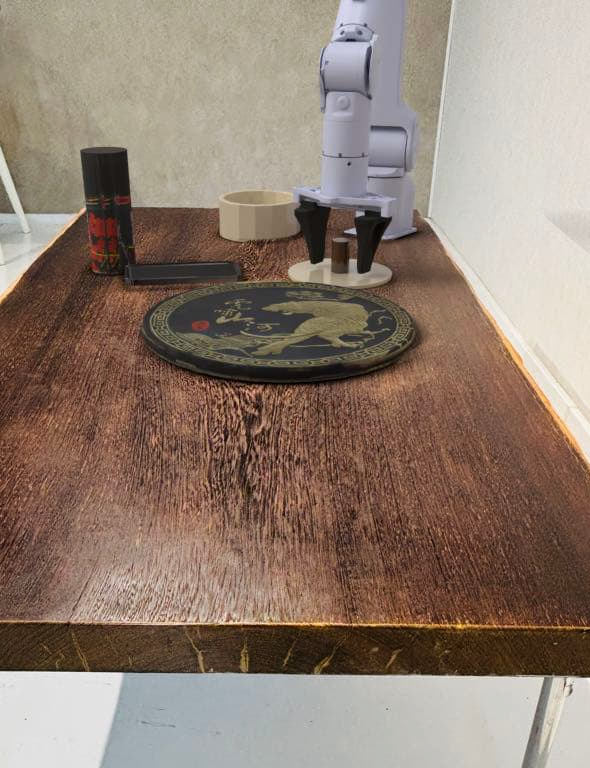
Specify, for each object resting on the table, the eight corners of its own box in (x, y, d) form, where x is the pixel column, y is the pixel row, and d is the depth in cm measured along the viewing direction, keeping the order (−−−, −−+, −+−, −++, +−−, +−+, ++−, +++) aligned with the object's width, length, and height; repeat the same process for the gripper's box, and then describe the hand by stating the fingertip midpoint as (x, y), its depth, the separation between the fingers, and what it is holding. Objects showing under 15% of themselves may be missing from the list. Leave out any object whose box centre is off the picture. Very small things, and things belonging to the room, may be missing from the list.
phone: (124, 264, 115) (236, 260, 116) (125, 273, 115) (236, 268, 117) (124, 280, 108) (242, 275, 110) (125, 289, 109) (242, 284, 110)
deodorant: (87, 266, 119) (74, 148, 111) (128, 261, 121) (119, 145, 113) (99, 276, 114) (87, 154, 106) (142, 271, 116) (133, 151, 108)
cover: (327, 261, 121) (328, 223, 118) (410, 277, 114) (414, 238, 111) (266, 281, 112) (267, 241, 109) (353, 301, 105) (355, 258, 102)
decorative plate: (100, 354, 84) (183, 271, 109) (101, 372, 85) (183, 286, 110) (409, 379, 79) (422, 287, 104) (407, 398, 80) (420, 302, 105)
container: (254, 221, 143) (253, 186, 140) (315, 232, 136) (316, 196, 133) (203, 234, 135) (201, 198, 132) (265, 247, 128) (265, 209, 125)
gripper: (278, 152, 106) (277, 264, 113) (378, 164, 98) (370, 283, 106) (312, 146, 111) (309, 254, 118) (409, 157, 103) (400, 271, 110)
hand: (340, 267), depth 112 cm, fingers open, 7 cm apart
